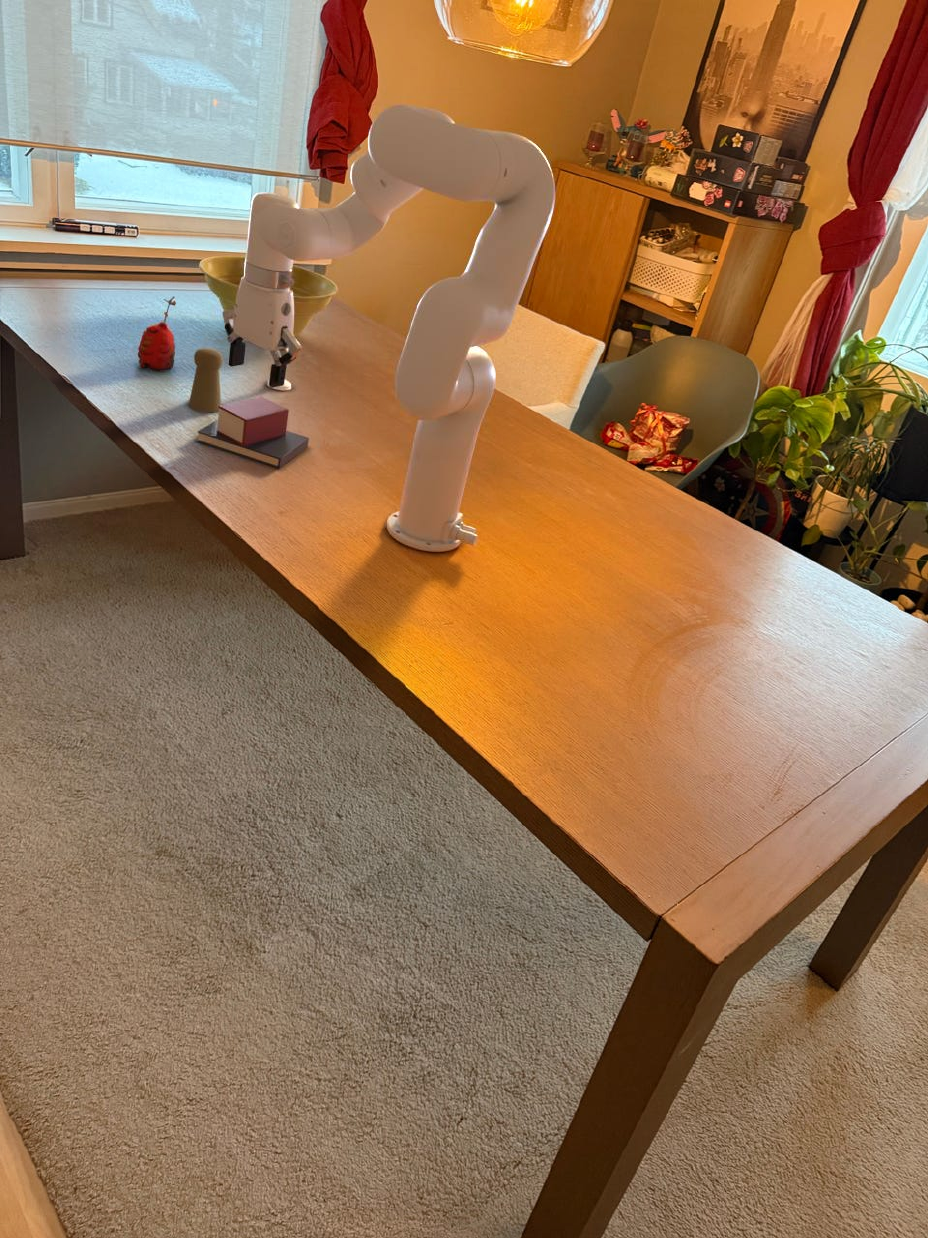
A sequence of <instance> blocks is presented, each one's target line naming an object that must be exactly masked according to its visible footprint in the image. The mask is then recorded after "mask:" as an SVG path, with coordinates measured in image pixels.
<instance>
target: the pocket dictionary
mask: <svg viewBox="0 0 928 1238" xmlns="http://www.w3.org/2000/svg"><path fill="white" fill-rule="evenodd" d="M289 413H290V409H288V408H286V407H284V406H282V405H280V404H278V403H275V402H273V401H272V400H270V399H267V398H265V397H264V396H263V395H261V396H257V397H252V398H247V399H244V400H238V401H235V402H229V403H225V404H221V405H220V406H219V411H218V418H217V420H218V428H217V433H219V434H221V435H223V436H224V437H226V438H228V439H230V440H232V441H234V442H236V443H238V444H240V445H242V446H243V447H245V446H249V445H253V444H256V443H260V442H264V441H267V440H271V439H275V438H278V437H282V436H286V431H287V429H288V428H287V427H288V421H289V420H288V419H289Z"/></svg>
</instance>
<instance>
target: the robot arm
mask: <svg viewBox="0 0 928 1238" xmlns="http://www.w3.org/2000/svg"><path fill="white" fill-rule="evenodd" d="M368 131H369V132H368V136H367V137H368V138H367V146H368V150H367V151H366V152H364V153H363V154H362V155H361V156H359V157H357V159H355V160H354V162H353V163H352V165H351V166H350V167H351V168H350V182H351V186H352V189H353V191H354V192H353V193H352V194H351V195H350V196H348V197H347V198H346V199H344V200H343V201H341V202H340V203H339V204H337V205H336V206H334V207H331V208H330V207H329V208H328V207H310V208H309V207H308V208H306V207H299V204H298V203H297V201H295V200H294V199H293V198H290V197H288V196H285V195H284V194H283V195H282V194H278V193H273V192H258V193H255V194H254V195H253V197H252V199H251V203H250V213H249V222H248V233H247V241H246V251H245V257H246V260H245V269H244V277H242V279H241V282H240V285H239V288H238V292H237V297H236V302H235V308H234V309H231V310H227V311H224V310H223V311H222V312H221V313H222V318H223V322H224V330H225V333H226V334H227V341H228V343H229V353H228V362H227V365H228V367H238V366H243V365H244V364H245V358H246V350H247V349H246V348H247V343H246V341H248V342H249V343H252V344H253V345H254V346H255V345H256V346H258V347H259V348H261V349H264V350H266V351H268V352H269V353H270V355H271V357H272V360H273V363H272V364H271V365H270V372H269V378H268V380H269V386H270V387H269V386H268V387H269V388H271V387H272V389H273V387H278V386H283V385H284V382H285V379H286V375H287V367H288V365H290V364H291V363H292V362H293V361H295V360H296V359H297V356H298V355H299V353H300V352H301V350H302V345H301V343H300V342H299V341H298V340H297V338H296V336H293V326H294V297H293V291H292V290H290V287H292V286H293V285H294V280H293V279H291V274H292V266H293V265H294V261H296V262H310V261H311V262H313V261H319V260H337V259H341V258H345V257H347V256H350V255H351V254H354V253H355V252H356V251H358V250H359V249H361V248H362V247H364V246H365V245H367V244H368V243H370V242H371V241H373V240H374V239H375V238H376V237H377V236H378V235H379V234H381V232H382V231H383V230H384V228H385V227H386V225H387V223H388V222H389V219H390V216H391V214H392V213H393V212H394V211H396V210H397V209H399V208H400V207H401V206H403V205H404V204H406V203H407V202H408V201H410V200H411V199H412V198H414V197H415V196H417V195H418V194H419V193H420V192H422V191H424V190H426V191H429V192H432V193H434V194H437V195H440V196H443V197H445V198H449V199H453V200H456V201H460V202H470V203H494V207H493V211H492V213H491V214H490V216H489V217H488V219H487V220H486V222H485V223H484V225H483V227H482V228H481V229H480V231H479V234H478V235H477V238H476V240H475V243H474V246H473V250H472V253H471V255H470V257H469V260H468V262H467V266H466V268H465V270H464V272H463V273H462V274H461V275H460V276H453V277H446V278H444V279H441V280H438V281H436V282H435V283H434V284H432V285H430V287H428V289H427V290H426V291H425V292H424V293H423V295H422V297H421V298H420V300H419V302H418V303H417V306H416V309H415V310H414V311H415V312H414V314H413V318H412V321H411V323H410V326H409V330H408V332H407V336H406V338H405V342H404V346H403V348H402V350H401V351H402V352H401V354H400V357H399V361H398V364H397V368H396V372H395V378H394V391H395V396H396V399H397V401H398V404H399V406H400V408H401V409H402V410H403V411H404V412H405V413H406V414H407V415H408V416H409V417H412V418H414V419H416V420H417V424H416V429H415V432H414V436H413V442H412V447H411V451H410V457H409V462H408V466H407V471H406V476H405V480H404V486H403V491H402V495H401V501H400V504H399V510H398V511H395V512H393V513H392V514H390V515H389V516H388V518H387V520H386V529H387V532H388V534H389V535H390V536H391V537H392V538H393V539H395V540H396V541H397V542H398V543H401V544H402V545H405V546H406V547H409V548H412V549H415V550H419V551H423V552H430V553H431V552H432V553H433V552H434V553H441V552H443V553H444V552H448V551H449V552H450V551H452V550H454V549H456V548H458V547H459V546H460V545H461V542H462V543H464V544H466V545H469V546H471V547H475V546H476V544H477V542H478V539H479V535H478V534H476V533H477V529H476V528H474V527H472V526H470V525H469V526H468V525H466V524H465V523H464V522H463V516H464V514H463V513H462V512H460V508H461V504H462V499H463V496H464V492H465V487H466V483H467V479H468V475H469V470H470V467H471V462H472V459H473V455H474V452H475V451H474V450H475V447H476V443H477V439H478V435H479V432H480V428H481V425H482V422H483V420H484V418H485V415H486V413H487V410H488V408H489V405H490V403H491V401H492V399H493V398H492V397H493V395H494V392H495V387H496V381H497V377H496V376H497V375H496V368H495V365H494V363H493V360H492V359H491V357H490V355H489V354H488V353H487V352H486V351H485V350H483V349H482V348H481V347H479V346H485V345H487V344H490V343H493V342H496V341H498V340H500V339H501V338H502V337H504V336H505V335H506V333H507V332H508V330H509V328H510V326H511V323H512V322H513V319H514V316H515V314H516V310H517V308H518V306H519V303H520V301H521V298H522V295H523V292H524V290H525V287H526V284H527V282H528V279H529V277H530V274H531V271H532V268H533V265H534V262H535V260H536V258H537V255H538V252H539V250H540V248H541V246H542V243H543V240H544V238H545V236H546V234H547V231H548V228H549V226H550V223H551V221H552V220H551V219H552V217H553V214H554V213H553V212H554V208H555V203H556V184H555V178H554V174H553V170H552V168H551V165H550V163H549V161H548V159H547V157H546V156H545V154H544V153H543V152H542V150H541V149H540V148H539V146H537V145H536V144H535V143H534V142H533V141H531V140H530V139H528V138H527V137H524V136H523V135H520V134H518V133H514V132H509V131H502V130H493V129H492V130H491V129H483V128H475V127H469V126H465V125H462V124H459V123H456V122H455V121H454V120H453V118H452V117H450V116H449V115H448V114H446V113H444V112H443V111H440V110H438V109H434V108H429V107H423V106H416V105H408V104H394V105H392V106H389V107H387V108H384V109H383V110H382V111H381V112H380V113H378V115H377V116H376V117H375V119H374V120H373V122H372V124H371V126H370V129H369V130H368ZM287 349H288V352H287ZM279 351H280V353H281V357H280V354H279Z"/></svg>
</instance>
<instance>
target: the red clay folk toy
mask: <svg viewBox="0 0 928 1238" xmlns="http://www.w3.org/2000/svg"><path fill="white" fill-rule="evenodd" d="M175 298H176V297H175V296H172V297H171V298H170V299H169V300H167V299H166V298H163V300H164V301H165V302H167V303H168V306H167V309H166V311H164V312H163V314H164V319H163V321H160V322H159V323H154V324H151V325H148V326H146V328H145V329H144V331H143V333H142V335H141V339H140V342H139V345H138V347H137V350H138V351H137V358H138V364H139V368H141V369H145V370H146V369H148V370H150V371H153V372H166V371H169V370H172V369H173V368H174V365H175V355H176V352H175V351H176V350H175V349H176V343H175V337H174V334H173V332H172V330H171V329H170V328H169V327H168V324H167V322H166V321H167V318H168V317H169V314H168V313H169V309H170V306H176V305H177V302H176V300H174V299H175Z"/></svg>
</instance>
